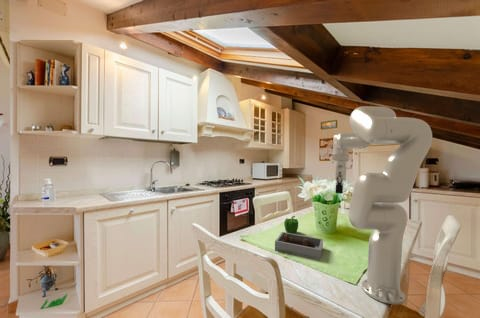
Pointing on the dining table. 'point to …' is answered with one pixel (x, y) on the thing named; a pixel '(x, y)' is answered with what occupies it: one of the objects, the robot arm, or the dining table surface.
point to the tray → (300, 246)
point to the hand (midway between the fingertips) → (339, 191)
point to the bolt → (298, 241)
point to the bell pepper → (291, 225)
